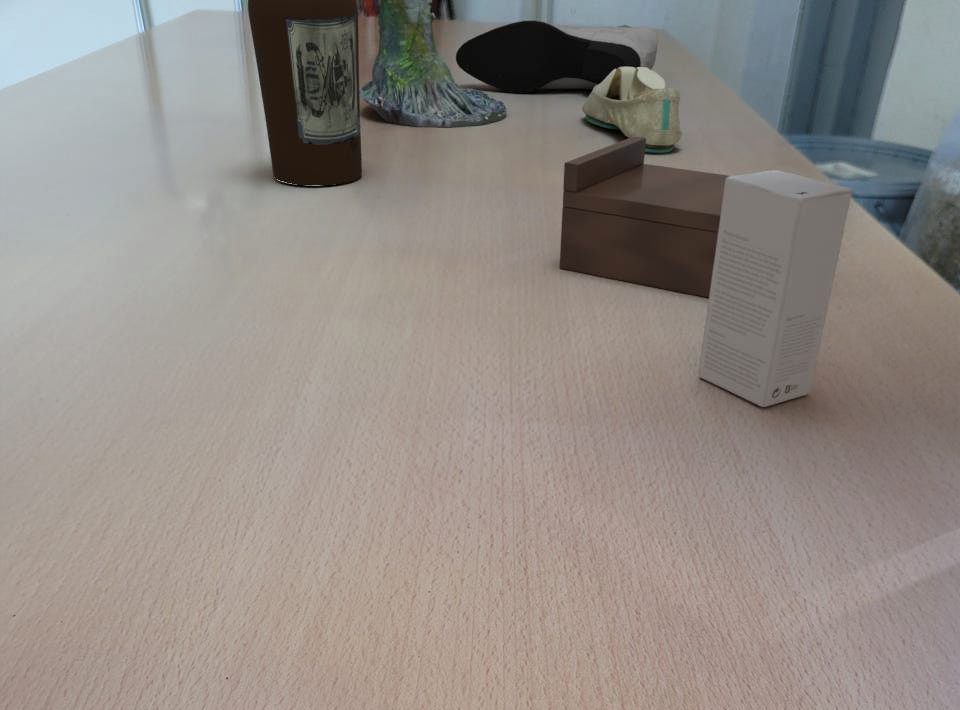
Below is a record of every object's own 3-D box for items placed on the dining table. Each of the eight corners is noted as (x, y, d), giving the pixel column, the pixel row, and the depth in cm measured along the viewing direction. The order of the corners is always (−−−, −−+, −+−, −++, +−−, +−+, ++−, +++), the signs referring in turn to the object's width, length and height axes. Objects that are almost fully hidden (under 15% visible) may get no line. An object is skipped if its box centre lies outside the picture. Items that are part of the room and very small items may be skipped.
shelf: (798, 264, 83) (818, 159, 78) (744, 305, 75) (763, 191, 70) (625, 234, 90) (633, 136, 85) (559, 268, 82) (564, 162, 77)
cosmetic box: (812, 395, 62) (857, 188, 55) (762, 410, 60) (801, 199, 53) (743, 363, 66) (776, 167, 59) (694, 376, 64) (722, 175, 57)
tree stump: (452, 138, 125) (415, -31, 116) (342, 159, 137) (301, 8, 128) (534, 108, 136) (506, -48, 127) (425, 130, 148) (393, -11, 139)
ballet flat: (627, 114, 135) (632, 49, 131) (705, 153, 117) (715, 78, 112) (569, 117, 134) (572, 51, 129) (639, 157, 115) (646, 81, 110)
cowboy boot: (641, 36, 139) (672, 19, 158) (455, 10, 144) (507, -3, 163) (629, 112, 144) (661, 87, 163) (451, 83, 150) (502, 63, 169)
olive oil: (252, 173, 108) (215, -117, 93) (339, 161, 113) (318, -117, 97) (294, 194, 101) (261, -117, 86) (386, 180, 106) (370, -117, 90)
